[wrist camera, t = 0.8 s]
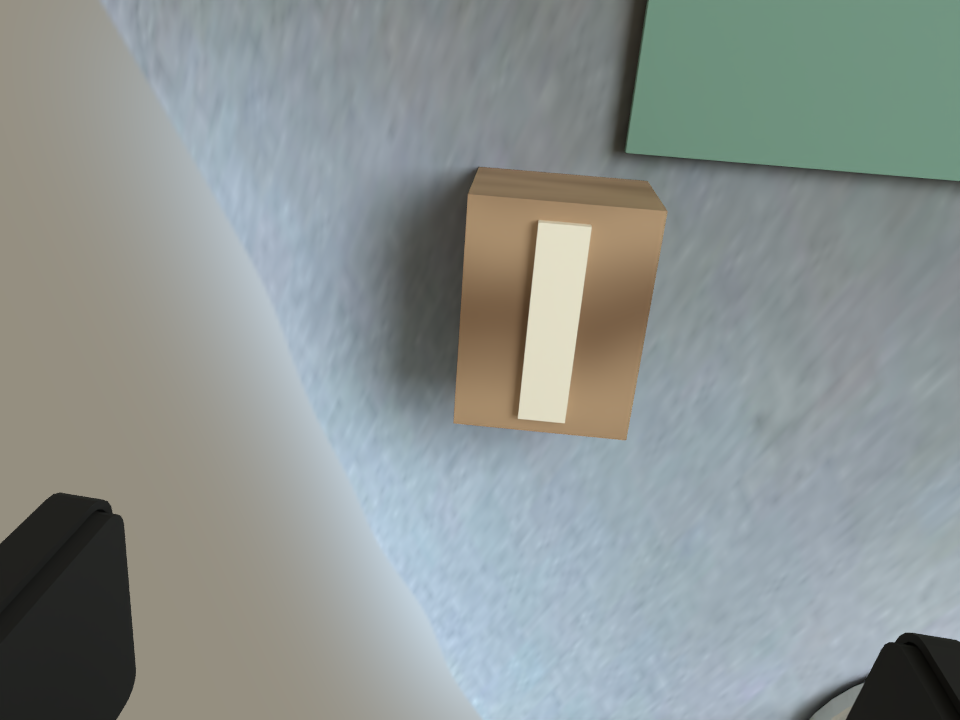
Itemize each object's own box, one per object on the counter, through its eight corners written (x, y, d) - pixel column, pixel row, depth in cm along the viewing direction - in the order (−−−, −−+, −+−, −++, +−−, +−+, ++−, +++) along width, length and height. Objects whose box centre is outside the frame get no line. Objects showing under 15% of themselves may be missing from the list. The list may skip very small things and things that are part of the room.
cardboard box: (614, 381, 29) (627, 444, 25) (465, 367, 30) (452, 427, 25) (647, 181, 26) (669, 213, 22) (479, 167, 26) (466, 196, 22)
